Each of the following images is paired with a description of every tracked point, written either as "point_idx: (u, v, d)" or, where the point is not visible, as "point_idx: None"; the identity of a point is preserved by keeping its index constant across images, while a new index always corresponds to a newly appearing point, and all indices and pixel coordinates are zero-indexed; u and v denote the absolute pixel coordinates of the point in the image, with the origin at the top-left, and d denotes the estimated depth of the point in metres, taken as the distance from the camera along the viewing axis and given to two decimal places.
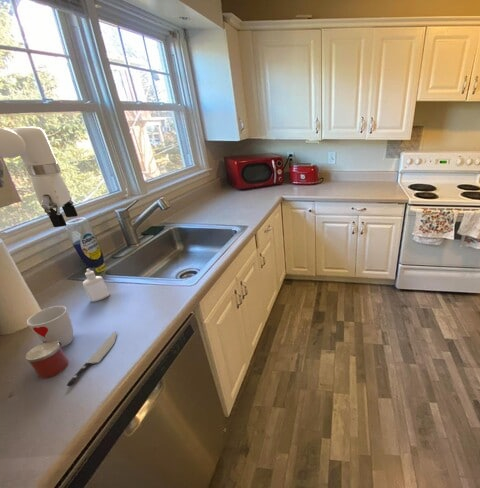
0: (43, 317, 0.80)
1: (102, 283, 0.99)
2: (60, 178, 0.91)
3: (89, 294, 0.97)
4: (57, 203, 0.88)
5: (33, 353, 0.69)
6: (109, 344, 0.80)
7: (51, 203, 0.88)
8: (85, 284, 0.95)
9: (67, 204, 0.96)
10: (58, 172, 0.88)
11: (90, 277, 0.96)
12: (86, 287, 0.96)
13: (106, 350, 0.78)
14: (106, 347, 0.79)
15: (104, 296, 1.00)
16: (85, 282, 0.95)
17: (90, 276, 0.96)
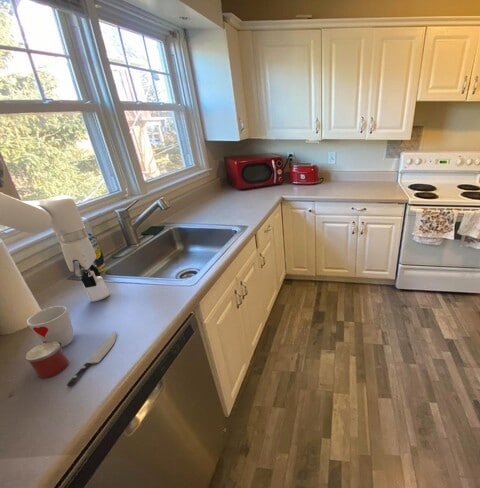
0: (43, 317, 0.80)
1: (102, 283, 0.99)
2: (87, 240, 0.93)
3: (89, 294, 0.97)
4: (85, 266, 0.91)
5: (33, 353, 0.69)
6: (109, 344, 0.80)
7: None
8: None
9: (91, 268, 0.98)
10: (86, 236, 0.91)
11: None
12: None
13: (106, 350, 0.78)
14: (106, 347, 0.79)
15: (104, 296, 1.00)
16: None
17: None
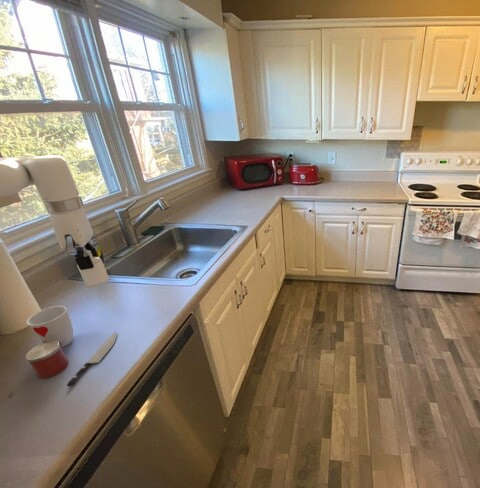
0: (43, 317, 0.80)
1: (100, 265, 0.83)
2: (82, 213, 0.78)
3: (85, 278, 0.81)
4: (80, 243, 0.75)
5: (33, 353, 0.69)
6: (109, 344, 0.80)
7: None
8: None
9: (87, 247, 0.82)
10: (81, 207, 0.75)
11: None
12: None
13: (106, 350, 0.78)
14: (106, 347, 0.79)
15: (103, 281, 0.84)
16: None
17: None
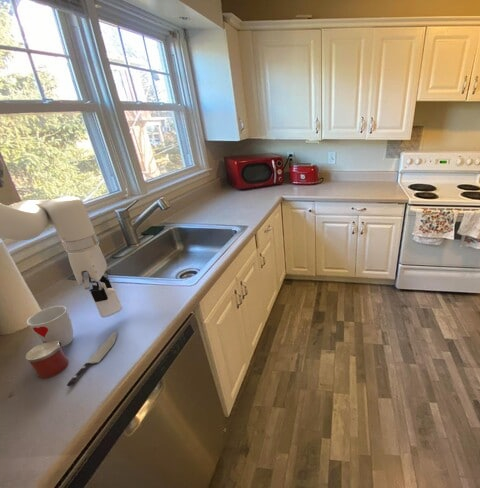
0: (43, 317, 0.80)
1: (114, 296, 0.87)
2: (97, 248, 0.81)
3: (99, 309, 0.85)
4: (95, 278, 0.78)
5: (33, 353, 0.69)
6: (109, 344, 0.80)
7: None
8: None
9: (102, 279, 0.86)
10: (96, 244, 0.79)
11: None
12: None
13: (106, 350, 0.78)
14: (106, 347, 0.79)
15: (116, 311, 0.88)
16: None
17: None
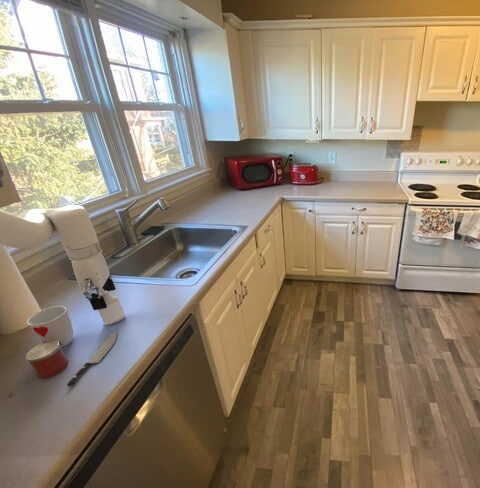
0: (43, 317, 0.80)
1: (117, 304, 0.88)
2: (100, 255, 0.82)
3: (103, 317, 0.86)
4: (98, 286, 0.79)
5: (33, 353, 0.69)
6: (109, 344, 0.80)
7: (91, 285, 0.80)
8: None
9: None
10: (100, 251, 0.80)
11: (104, 298, 0.85)
12: (100, 309, 0.85)
13: (106, 350, 0.78)
14: (106, 347, 0.79)
15: (119, 318, 0.89)
16: None
17: (104, 297, 0.85)
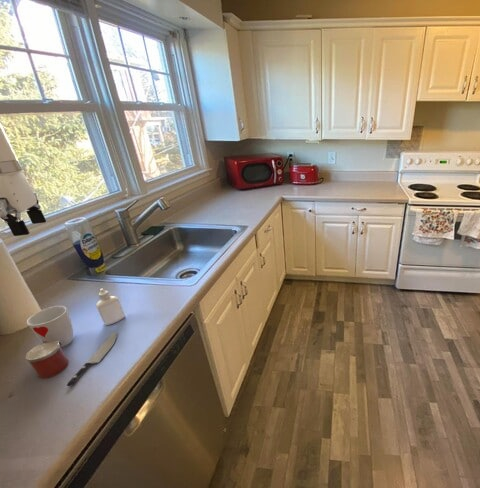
0: (43, 317, 0.80)
1: (117, 304, 0.88)
2: (22, 178, 0.77)
3: (103, 317, 0.86)
4: (17, 208, 0.74)
5: (33, 353, 0.69)
6: (109, 344, 0.80)
7: (10, 208, 0.74)
8: (99, 306, 0.84)
9: (33, 208, 0.82)
10: (18, 171, 0.74)
11: (104, 298, 0.85)
12: (100, 309, 0.85)
13: (106, 350, 0.78)
14: (106, 347, 0.79)
15: (119, 318, 0.89)
16: (99, 304, 0.85)
17: (104, 297, 0.85)
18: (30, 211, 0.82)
